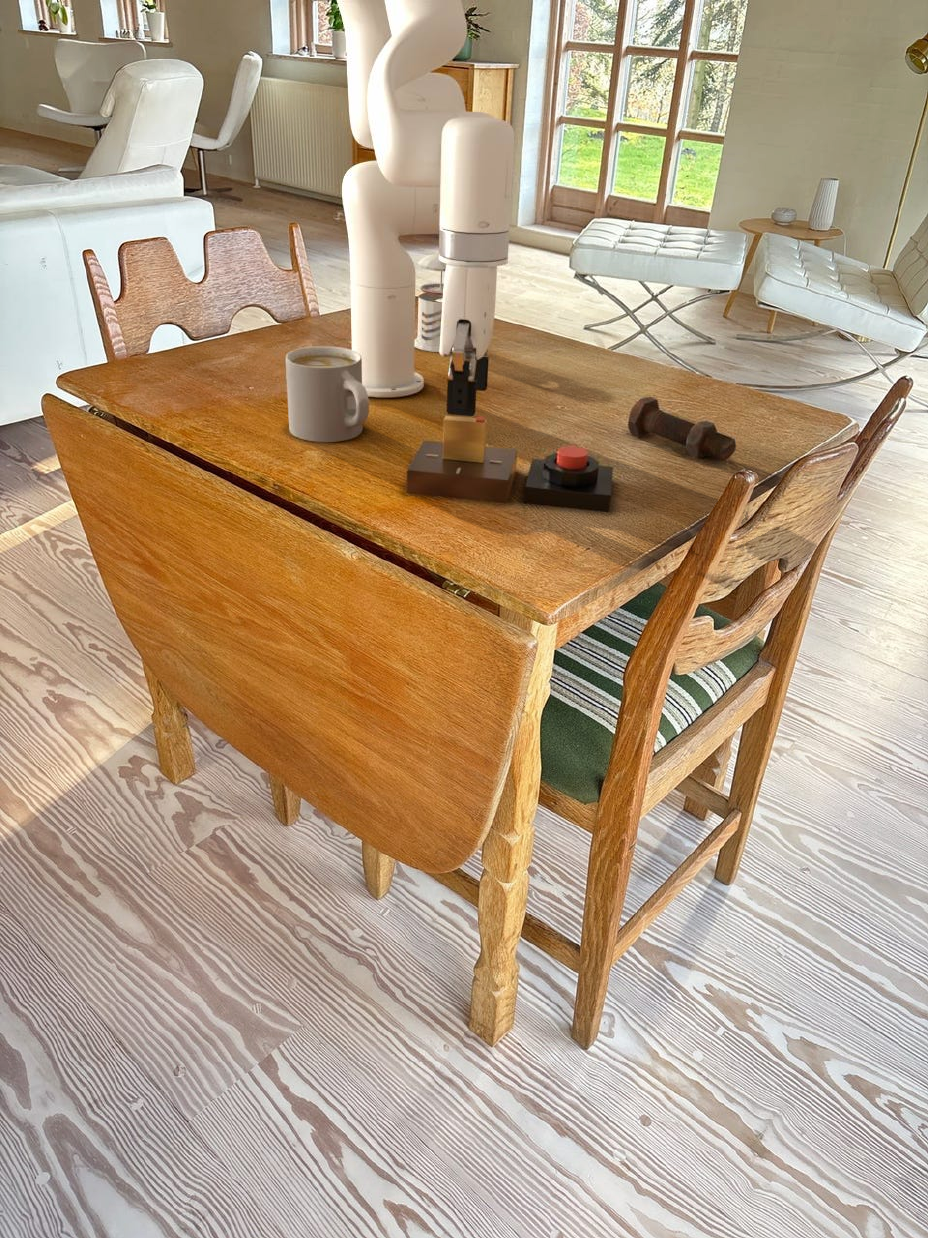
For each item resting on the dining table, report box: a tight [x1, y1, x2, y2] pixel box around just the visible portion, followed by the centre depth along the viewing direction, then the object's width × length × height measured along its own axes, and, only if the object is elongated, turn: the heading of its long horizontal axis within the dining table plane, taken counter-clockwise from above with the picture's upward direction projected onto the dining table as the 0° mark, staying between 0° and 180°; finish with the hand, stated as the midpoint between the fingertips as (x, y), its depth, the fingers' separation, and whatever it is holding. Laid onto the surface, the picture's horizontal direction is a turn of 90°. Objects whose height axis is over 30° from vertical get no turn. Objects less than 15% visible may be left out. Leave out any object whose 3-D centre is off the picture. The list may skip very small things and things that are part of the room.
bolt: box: [627, 396, 737, 462], centre depth 129 cm, size 6×5×15 cm
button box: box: [523, 452, 614, 513], centre depth 115 cm, size 10×9×4 cm
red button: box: [556, 445, 589, 469], centre depth 114 cm, size 4×4×2 cm
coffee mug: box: [285, 345, 370, 443], centre depth 127 cm, size 13×10×10 cm
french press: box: [415, 253, 452, 353], centre depth 163 cm, size 10×12×25 cm
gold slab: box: [442, 415, 488, 463], centre depth 114 cm, size 5×1×5 cm, turn 81°
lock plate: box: [406, 440, 518, 504], centre depth 117 cm, size 12×10×3 cm
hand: (467, 401), depth 112 cm, fingers open, 9 cm apart
